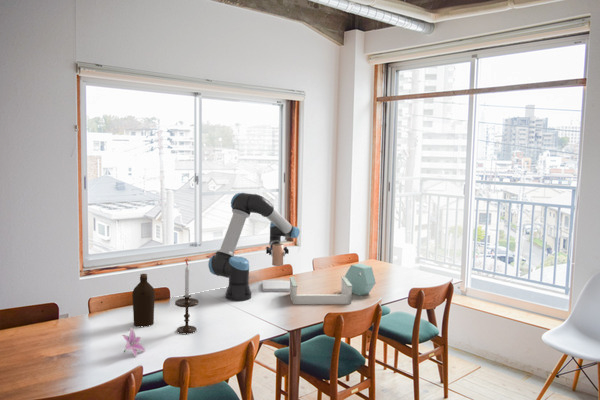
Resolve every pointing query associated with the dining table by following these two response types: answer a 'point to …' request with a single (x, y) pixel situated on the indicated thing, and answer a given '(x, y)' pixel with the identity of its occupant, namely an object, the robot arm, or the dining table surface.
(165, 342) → the dining table surface
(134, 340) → the lily
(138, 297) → the olive oil
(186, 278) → the candlestick
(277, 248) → the pot
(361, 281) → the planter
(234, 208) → the robot arm
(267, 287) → the potting board
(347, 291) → the grey u-shaped bracket
